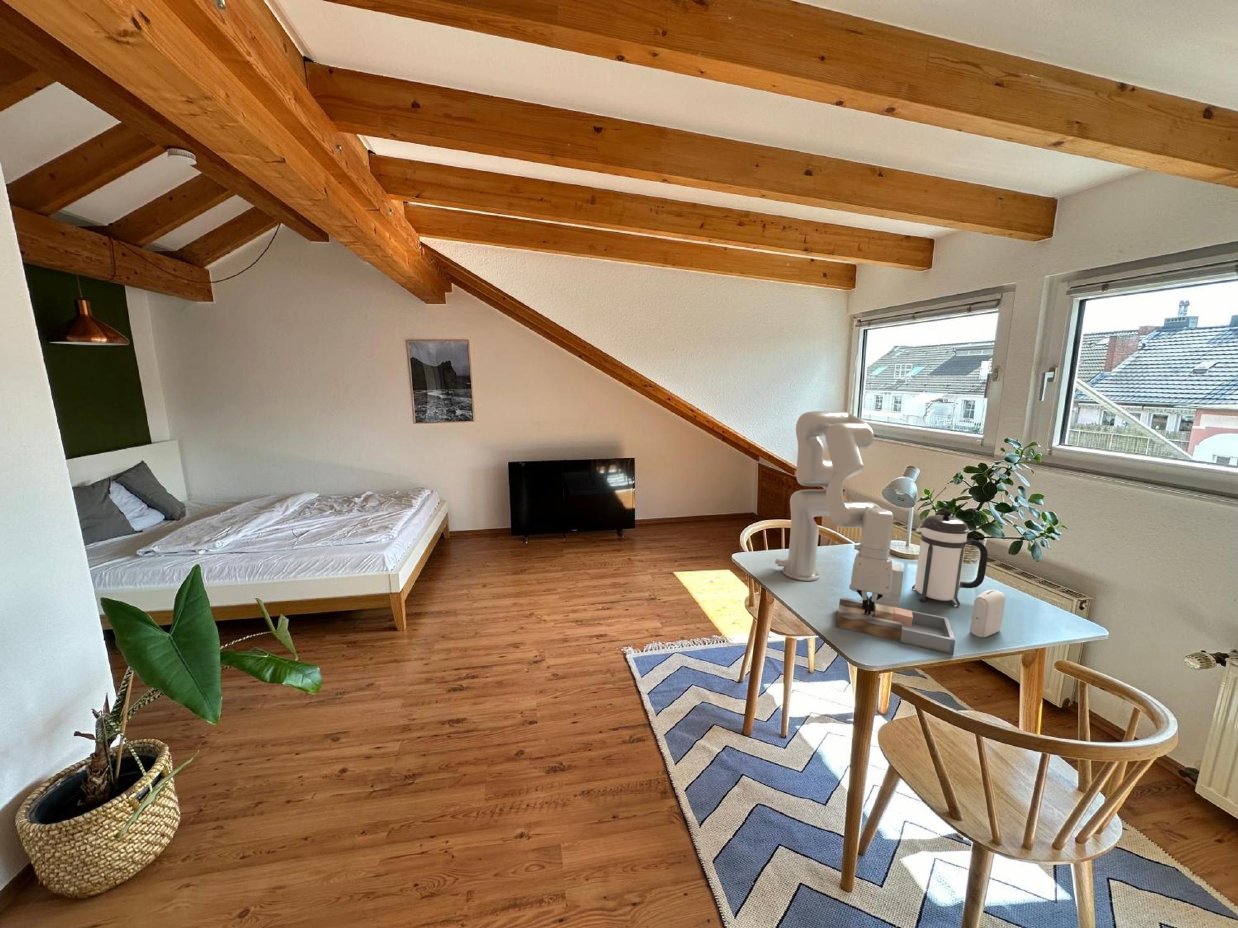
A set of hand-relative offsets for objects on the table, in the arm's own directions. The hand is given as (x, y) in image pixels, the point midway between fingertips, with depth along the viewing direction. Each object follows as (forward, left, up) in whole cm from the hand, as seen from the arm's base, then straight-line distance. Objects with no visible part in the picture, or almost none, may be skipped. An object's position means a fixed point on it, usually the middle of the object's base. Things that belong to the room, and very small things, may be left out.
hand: (867, 611), depth 141 cm
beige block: (+4, 0, -1) cm, 4 cm away
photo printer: (+30, +12, -4) cm, 33 cm away
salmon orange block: (+9, 0, -1) cm, 9 cm away
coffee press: (+21, +32, -4) cm, 39 cm away
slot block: (0, 0, -4) cm, 4 cm away
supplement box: (+5, +19, -4) cm, 20 cm away
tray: (+14, 0, -4) cm, 15 cm away
